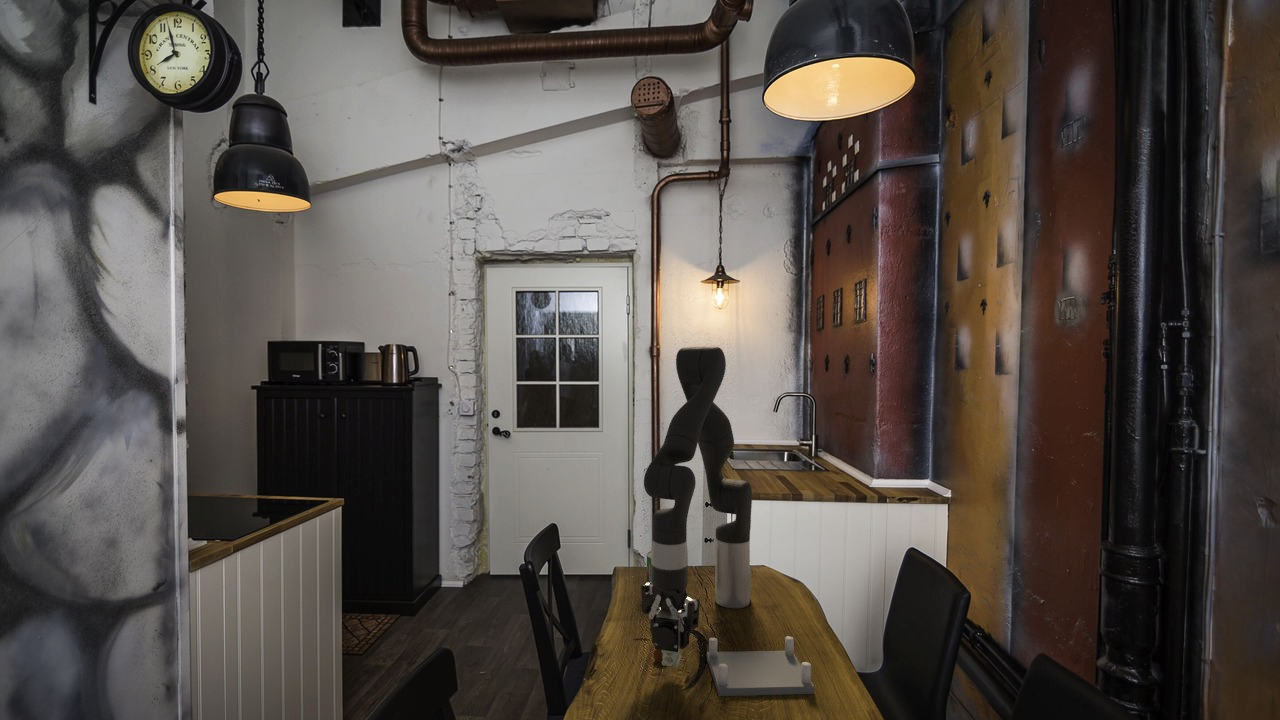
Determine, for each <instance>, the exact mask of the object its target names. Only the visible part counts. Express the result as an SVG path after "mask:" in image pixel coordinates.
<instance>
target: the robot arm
mask: <svg viewBox="0 0 1280 720" xmlns="http://www.w3.org/2000/svg"><path fill="white" fill-rule="evenodd" d="M675 366H676V369H675V370H676V373H677V378H678V381H679V383H680V386H681V389H682V391H683V394H684V396H685V400H686V402H685V403H684V404H683V405H682V406H681V407H680V408H679V409H678V410H677V412H675V414H674V415H673V416H672V418H671V420H670V423H669V426H668V429H667V432H666V435H665V438H664V442H663V444H662V446H661V447H660V448H659V450H658V452H657V453H656V455H655V456H654V458H653V459H652V460H651V462H650V464H649V465H648V466H647V468H646V470H645V474H644V478H643V488H644V491H645V492H646V494H647V495H648V496H649V497H651V498H655V499H663V500H671V501H674V504H673V507H671V508H670V507H669V508H662V509H658V510H656V511H655V512H654V513H653V515H652V544H651V550H650V551H651V582H652V583H651V582H648V583H647V582H646V583H643V584H642V585H641V586H640V593H641V608H642V609H641V610H642V613H643V614H644V615H648V618H649V620H650V621H649V622H650V623H649V625H650V630H649V631H650V633H651V634H652V627H653V626H654V624H655V618H656V616H657V614H655V611H656V610H659V608H661V610H664V611H667V612H669V613H671V614H672V616H674V617H676V618H679V617H680V650H684V649H686V648H687V647H688V646H689V645H690V632H691V631H693V630H695V629H696V628H698V627H699V618H700V617H699V616H700V608H701V607H700V604H701V601H700V599H699V598H698V597H697V598H696V597H695V598H694V599H693V598H691V597H689V596H688V593H687V586H688V584H689V581H688V580H689V577H688V576H689V570H688V568H689V551H688V543H687V541H688V540H687V535H688V534H687V531H688V530H687V527H688V526H687V525H688V523H687V522H688V515H689V510H690V506H691V502H692V498H693V496H694V493H695V489H696V483H697V482H696V476H695V473H694V471H693V470H692V469H691V467H689V466H685V465H679V464H683V463H684V464H685V463H689V462H690V461H692V460H693V459H694V457H695V455H696V451H697V448H699V451H700V455H701V458H702V462H703V466H704V472H705V476H706V483H707V484H706V485H707V491H708V496H709V497H708V498H709V501H710V504H711V507H712V509H713V510H714V511H716V512H717V513H724V514H731V515H735V520H734V521H730V522H727V523H722V524H720V525H718V526H717V527H716V528H715V560H714V561H715V562H714V563H715V568H714V569H715V574H714V575H715V578H714V580H715V581H714V582H715V584H714V585H715V587H714V588H715V591H714V592H715V593H714V594H715V595H714V597H715V598H714V599H715V600H714V601H715V603H716V604H717V605H719V606H721V607H724V608H728V609H744V608H746V607H748V606H749V605H750V601H751V596H752V595H751V591H752V589H751V585H752V581H751V580H752V579H751V578H752V566H751V564H750V561H751V560H750V559H751V557H750V556H751V551H750V550H751V548H750V547H751V543H750V542H751V540H750V539H751V527H752V526H751V525H752V507H753V506H752V505H753V490H752V486H751V483H750V481H747V480H743V479H733V478H726V477H724V475H723V471H722V470H723V468H724V466H725V464H726V462H727V461H728V459H729V458H730V456H731V455H732V452H733V450H734V447H735V446H734V445H735V438H734V434H733V433H734V432H733V429H732V424H731V422H730V419H729V418H728V416H727V415H726V414H725V412H724V411H723V410H722V409H721V408H720V406H718V405H717V404H716V403H715V402H714V401H715V399H716V396H717V394H718V392H719V390H720V387H721V385H722V383H723V381H724V377H725V375H726V374H725V373H726V368H727V367H726V366H727V363H726V355H725V353H724V351H723V349H722V348H721V347H719V346H713V345H708V346H707V345H705V346H704V345H703V346H702V345H701V346H698V345H697V346H684V347H681V348H679V349H678V351H677V354H676V356H675ZM653 595H654V597H655V599H654V598H653ZM685 604H686V606H687V607H686V606H685ZM680 610H681V611H682V613H681V614H678V611H680ZM682 619H683V621H684V624H683V621H682Z"/></svg>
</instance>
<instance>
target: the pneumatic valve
mask: <svg viewBox="0 0 1280 720" xmlns="http://www.w3.org/2000/svg"><path fill="white" fill-rule="evenodd" d="M685 606H686V604H685ZM686 607H687V606H686ZM681 613H682V611H681V610H680V611H678V614H681ZM655 614H657V616H656V618H655V624H654V626H653V627H652V633H651V639H652V640H651V643H652V644H654V648H655V650H656V649H659V650H662V653H663V656H662V658H663V660H662V662H661V665H662V666H668V667H674V668H678V667H679V665H680V662H681V660H682V656H681V650H682V649H680V617H679V618H676V617H674V616H672V614H671V613H669V612H667V611H664V610H661V608H659V610H656V611H655ZM682 621H683V619H682ZM683 624H684V621H683Z"/></svg>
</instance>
